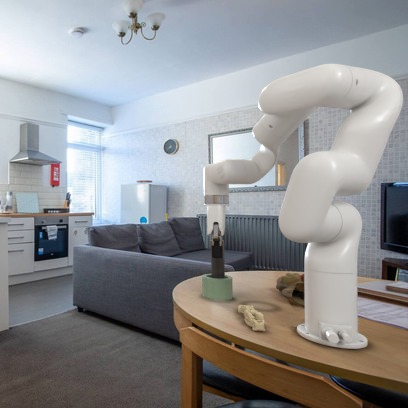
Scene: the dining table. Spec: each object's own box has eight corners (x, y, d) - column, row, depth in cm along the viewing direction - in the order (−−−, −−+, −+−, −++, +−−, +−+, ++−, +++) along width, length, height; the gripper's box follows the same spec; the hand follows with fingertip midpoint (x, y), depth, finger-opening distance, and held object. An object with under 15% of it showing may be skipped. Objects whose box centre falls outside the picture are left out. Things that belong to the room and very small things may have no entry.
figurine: (283, 280, 97) (275, 265, 115) (282, 310, 97) (273, 290, 115) (347, 288, 90) (327, 270, 108) (345, 319, 91) (326, 297, 109)
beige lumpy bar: (270, 333, 78) (270, 318, 78) (253, 332, 79) (253, 317, 79) (245, 310, 95) (245, 298, 95) (231, 309, 96) (231, 297, 96)
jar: (232, 303, 102) (232, 280, 102) (201, 299, 106) (200, 278, 106) (232, 296, 110) (232, 275, 110) (203, 293, 114) (203, 272, 114)
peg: (224, 278, 105) (223, 241, 105) (211, 277, 107) (210, 240, 107) (225, 276, 109) (224, 240, 109) (211, 275, 110) (211, 239, 111)
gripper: (206, 202, 117) (207, 253, 117) (201, 201, 103) (202, 260, 102) (229, 201, 114) (231, 254, 114) (228, 200, 99) (229, 261, 99)
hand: (217, 256), depth 108 cm, fingers closed on peg, 4 cm apart
